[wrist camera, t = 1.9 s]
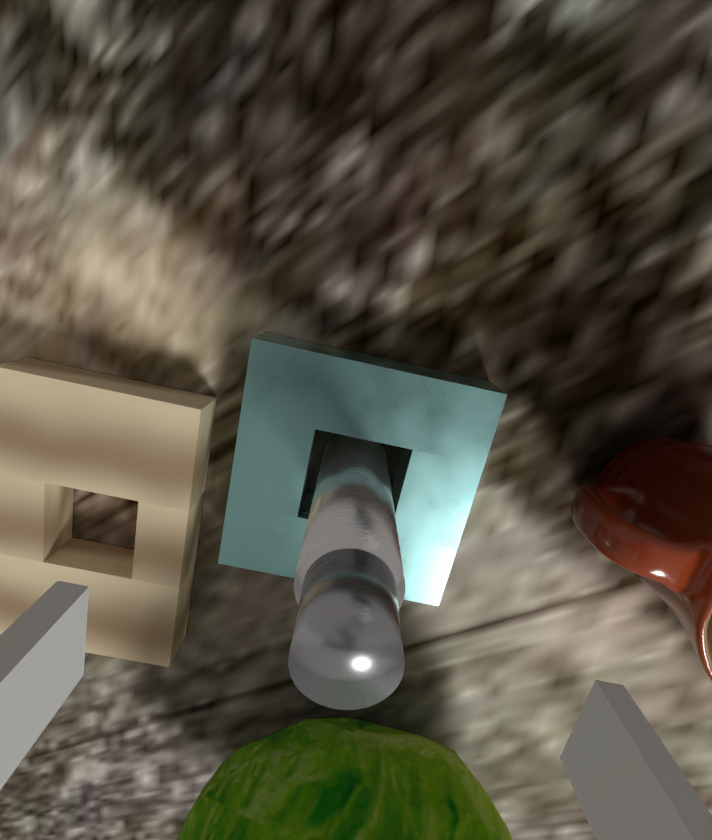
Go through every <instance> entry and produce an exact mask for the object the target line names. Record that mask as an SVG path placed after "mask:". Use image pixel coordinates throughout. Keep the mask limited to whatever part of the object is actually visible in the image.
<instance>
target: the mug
mask: <svg viewBox="0 0 712 840" xmlns="http://www.w3.org/2000/svg"><path fill="white" fill-rule="evenodd" d="M571 515H572V519H573V521H574V523H575V524H576V526H577V527H578V529H579V530H580V532H581V533H582V534H583V535H584V537H585V538H586V539H587V540H588V541H589V542H590V543H591V544H592V545H593V546H594V547H595V548H596V549H597V550H598V551H599V552H600V553H601V554H603V555H604V556H605V557H607V558H608V559H610V560H611V561H613V562H614V563H616V564H618V565H619V566H621V567H623V568H625V569H627V570H629V571H631V572H633V573H634V574H635V575H636V576H637V577H638V578H639V579H640V580H641V581H642V582H643V583H644V584H646V585H647V586H648V587H649V588H650V589H651V590H652V591H653V592H654V593H655V594H656V595H657V596H658V597H660V598H661V599H662V600H663V601H664V602H665V603H666V604H667V605H668V606H669V607H670V608H671V610H672V611H673V612H674V613H675V615H676V616H677V617H678V619H679V620H680V622H681V624H682V625H683V627H684V629H685V631H686V633H687V635H688V637H689V639H690V641H691V643H692V645H693V647H694V649H695V651H696V653H697V655H698V657H699V660H700V662H701V664H702V666H703V668H704V670H705V671H706V673H707V674H708V676H709V678H710V679H711V680H712V445H708V444H702V443H697V442H693V441H689V440H685V439H681V438H674V437H660V438H653V439H648V440H645V441H641V442H639V443H636V444H634V445H632V446H630V447H628V448H626V449H625V450H623V451H621V452H620V453H618V454H617V455H616V456H614V457H613V458H612V459H611V460H610V461H609V462H608V463H607V464H606V466H605V467H604V468H603V470H602V471H601V473H600V474H599V476H598V478H597V480H596V482H595V483H592V484H585V485H583V486H581V487H580V488H579V489H578V491H577V493H576V494H575V496H574V499H573V501H572V504H571Z"/></svg>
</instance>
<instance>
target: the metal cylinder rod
mask: <svg viewBox="0 0 712 840" xmlns="http://www.w3.org/2000/svg"><path fill="white" fill-rule="evenodd" d="M294 595H295V599H296V602H297V604H298V611H297V616H296V621H295V626H294V631H293V636H292V642H291V647H290V652H289V658H288V668H289V673H290V675H291V678H292V680H293V682H294V684H295V685H296V687H297V688H298V689H299V690H300V691H301V692H302V693H303V694H304V695H305V696H306V697H307V698H309V699H310V700H312V701H314V702H316V703H318V704H320V705H322V706H325V707H328V708H333V709H339V710H357V709H362V708H366V707H370V706H372V705H375V704H377V703H379V702H381V701H383V700H384V699H386V698H387V697H388V696H389V695H391V694H392V693H393V692H394V690H395V689H396V688H397V687H398V685H399V683H400V682H401V679H402V677H403V674H404V668H405V660H404V651H403V643H402V634H401V626H400V617H399V609H400V607H401V605H402V603H403V600H404V596H405V579H404V572H403V566H402V559H401V552H400V546H399V539H398V532H397V525H396V519H395V512H394V505H393V498H392V492H391V485H390V478H389V472H388V465H387V458H386V453H385V450H384V448H383V446H382V445H381V444H380V443H378V442H374V441H369V440H364V439H359V438H355V437H350V436H345V435H340V434H339V435H337V436H336V437H334V438H333V439H332V440H331V441H330V442H329V443H328V445H327V446H326V448H325V450H324V453H323V457H322V461H321V466H320V470H319V474H318V479H317V483H316V487H315V492H314V496H313V500H312V505H311V509H310V513H309V518H308V522H307V526H306V531H305V535H304V539H303V544H302V548H301V552H300V557H299V561H298V565H297V570H296V574H295V578H294Z"/></svg>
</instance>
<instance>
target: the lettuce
mask: <svg viewBox="0 0 712 840" xmlns="http://www.w3.org/2000/svg"><path fill="white" fill-rule="evenodd" d="M177 840H512V838H511V836H510V833H509V831H508V828H507V826H506V825H505V823H504V821H503V819H502V818H501V816H500V814H499V813H498V811H497V809H496V807H495V806H494V804H493V802H492V801H491V799H490V797H489V796H488V794H487V792H486V791H485V790H484V788H483V787H482V786H481V785H480V783H479V782H478V781H477V779H476V778H475V777H474V776H473V774H472V773H471V772H470V770H469V769H468V768H467V767H466V765H465V764H464V763H463V761H462V760H461V759H460V758H459V756H458V755H457V754H456V752H455V751H454V750H452V749H449V748H447V747H445V746H443V745H441V744H438V743H436V742H434V741H432V740H430V739H428V738H425V737H423V736H421V735H417V734H413V733H409V732H405V731H401V730H397V729H393V728H390V727H386V726H382V725H378V724H374V723H370V722H366V721H362V720H359V719H355V718H316V719H305V720H303V721H301V722H298V723H296V724H294V725H291V726H289V727H287V728H284V729H282V730H280V731H277V732H275V733H273V734H270V735H268V736H266V737H263V738H261V739H259V740H256V741H254V742H252V743H249V744H247V745H245V746H243V747H241V748H238V749H237V750H236V751H235V752H234V753H233V754H232V755H231V756H230V757H229V758H228V759H227V760H226V761H225V762H223V763H222V764H221V765H220V767H219V768H218V769H217V771H216V772H215V773H214V775H213V776H212V777H211V779H210V780H209V781H208V783H207V784H206V786H205V787H204V788H203V790H202V791H201V793H200V795H199V797H198V798H197V800H196V802H195V804H194V805H193V807H192V809H191V811H190V812H189V814H188V816H187V818H186V819H185V822H184V824H183V827H182V829H181V831H180V834H179V836H178V839H177Z"/></svg>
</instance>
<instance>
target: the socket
mask: <svg viewBox="0 0 712 840" xmlns="http://www.w3.org/2000/svg"><path fill="white" fill-rule="evenodd" d="M506 397H507V394H506V393H505V392H503V391H502V390H501V389H499V388H498V387H496V386H495V385H494V384H492V383H491V382H490V381H485V380H480V379H476V378H471V377H467V376H462V375H458V374H453V373H449V372H444V371H440V370H435V369H431V368H426V367H422V366H417V365H413V364H408V363H403V362H399V361H394V360H390V359H385V358H381V357H376V356H372V355H367V354H363V353H358V352H354V351H349V350H345V349H340V348H336V347H331V346H327V345H322V344H317V343H313V342H308V341H304V340H299V339H295V338H290V337H286V336H281V335H277V334H272V333H268V332H264V333H262V334H260V335H258V336H255V337H253V338H252V339H251V346H250V352H249V359H248V366H247V373H246V379H245V386H244V393H243V399H242V406H241V413H240V419H239V426H238V433H237V439H236V446H235V453H234V459H233V466H232V473H231V479H230V486H229V493H228V500H227V506H226V513H225V520H224V526H223V533H222V540H221V546H220V553H219V560H218V564H223V565H228V566H233V567H239V568H244V569H249V570H254V571H259V572H264V573H270V574H275V575H280V576H285V577H290V578H295V574H296V570H297V565H298V561H299V557H300V552H301V548H302V544H303V539H304V535H305V531H306V526H307V522H308V518H309V513H310V509H311V505H312V500H313V496H314V493H311V492H306V491H305V487H306V482H307V477H308V472H309V467H310V462H311V457H312V452H313V447H314V443H315V438H316V433H317V430H322V431H326V432H331V433H336V434H340V435H345V436H350V437H355V438H359V439H364V440H369V441H374V442H378V443H383V444H388V445H393V446H397V447H402V450H401V454H400V458H399V461H398V465H397V469H396V473H395V477H394V480H393V484H392V488H391V492H392V498H393V505H394V512H395V519H396V525H397V532H398V539H399V546H400V552H401V559H402V566H403V572H404V579H405V596H404V600H409V601H414V602H419V603H424V604H430V605H435V606H439V604H440V601H441V597H442V594H443V591H444V588H445V585H446V582H447V579H448V576H449V573H450V570H451V567H452V564H453V561H454V557H455V554H456V551H457V548H458V545H459V542H460V539H461V536H462V533H463V530H464V527H465V524H466V520H467V517H468V514H469V511H470V508H471V505H472V502H473V499H474V496H475V493H476V490H477V487H478V484H479V480H480V477H481V474H482V471H483V468H484V465H485V462H486V459H487V456H488V453H489V450H490V447H491V443H492V440H493V437H494V434H495V431H496V428H497V425H498V422H499V419H500V416H501V413H502V410H503V407H504V403H505V400H506Z"/></svg>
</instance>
